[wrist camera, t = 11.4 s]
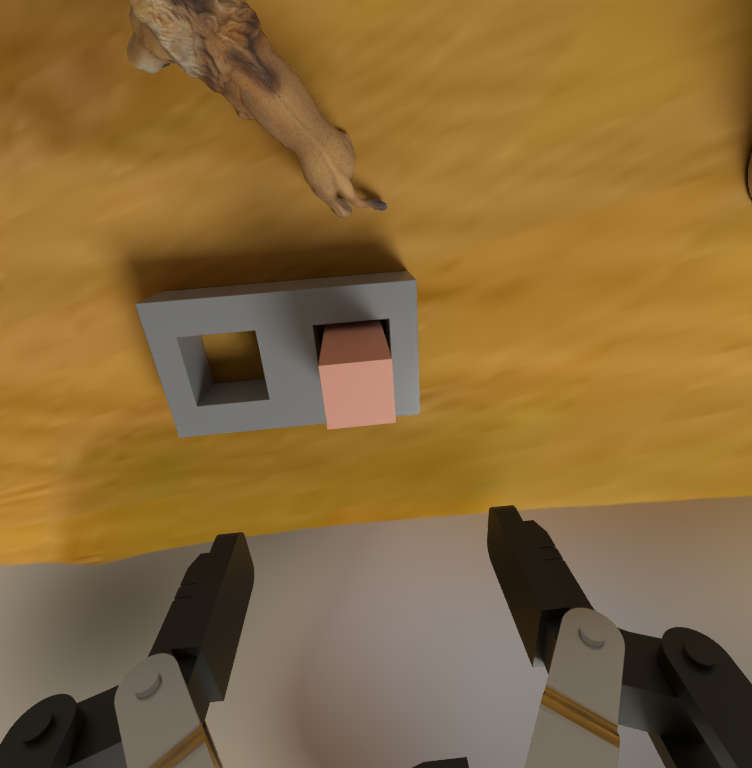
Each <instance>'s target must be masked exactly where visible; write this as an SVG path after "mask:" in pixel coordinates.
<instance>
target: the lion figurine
mask: <svg viewBox="0 0 752 768" xmlns="http://www.w3.org/2000/svg"><path fill="white" fill-rule="evenodd" d="M129 3H130V5H131V7H132V8H131V11H130V21H131V25H132V28H133V30H134V34H133V35H132V37H131V39H130V41H129V44H128V47H127V55H128V58H129V60H130V62H131V64H132V65H133V66H134V67H136V68H137V69H140V70H145V71H146V72H149V73H156V72H158V71H160V69H161V68H163V67H166V66H168V65H170V64H171V63H176V64H177V65H179V66H180V67H182V68H183V70H184V71H185V72H186V73H187V74H188V75H189V76H190V77H193V78H200V79H201V80H202V81H203V82H204V83H205V84H206V85H207V86H208V87H209V88H210V89H212V90H213V91H214V92H217V93H220V94H222V95H224V96H225V98H226V99H227V100H228V101H229V102H230V103H231V104H232V105H233V106H234V107H235V108H236V110H237V112H238V116H239V117H241V118H244V119H254V118H255V119H256V121H257V122H258V123H259V124H260V125H261V126H262V127H263V128H264V129H265V130H266V131H267V132H268V133H270V134H271V135H272V136H273V137H275V138H276V139H277V140H278V141H280V142H281V143H282V144H283V145H284V146H286V147H287V148H289V149H290V150H292V151H293V152H294V153H296V155H297V157H298V159H299V162H300V164H301V167H302V171H303V175H304V177H305V179H306V181H307V183H308V184H309V185H310V187H311V189H312V191H313V192H314V194H315V195H317V196H318V197H319V198H321V199H322V200H323V201H324V202H326V203H327V204H328V205H329V206H331V207H332V208H333V211H334V213H335V214H336V215H337V216H339V217H341V218H347V217H349V216H350V215H351V213H352V209H351V207H350V205H349V204H348V202H347V201H346V200H344V199H342V198H338V197H337V192H340V193H341V194H342V195H343V196H344V197H346V198H347V200H348V201H349V202H350V203H351V204H353V205H354V206H356V207H359V208H361V207H372V208H374V209H375V210H381V211H383V210H386V209H387V204H386V203H384V202H382V201H380V200H378V199H377V198H367V199H363V198H360V197H358V195H357V193H356V192H355V190H354V188H353V185H352V183H351V181H350V178H351V177H352V176H353V174H354V169H355V164H356V154H355V151H354V148H353V146H352V145H351V140H350V137H349V135H348V134H347V133H346V132H343V131H338V130H337V129H336V128H335V127H333V126H332V125H331V124H330V123H329V122H328V121H327V120H326V119H325V118H324V117H323V115H322V114H321V112H320V111H319V109H318V108H317V106H316V104H315V103H314V101H313V99H312V98H311V96H310V95H309V93H308V91H307V90H306V88H305V87H304V85H303V84H302V82H301V80H300V79H299V77H298V76H297V74H296V73H295V72H294V71H293V70H292V68H291V67H290V66H289V65H288V64H287V63H286V62H285V60H284V59H283V58H282V57H281V56H279V55H278V54H277V53H276V52H275V51H274V50H273V49H272V47H271V43H270V41H269V39H268V38H267V36H266V35H265V34H264V33H263V32H262V30H261V25H260V21H259V19H258V17H257V15H256V13H255V11H254V10H252V9H251V8H250V6H249V5H248V4H247V3H246V2H245V1H244V0H129Z"/></svg>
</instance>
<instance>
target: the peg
mask: <svg viewBox="0 0 752 768" xmlns="http://www.w3.org/2000/svg"><path fill="white" fill-rule="evenodd" d="M318 367H319V374H320V381H321V387H322V394H323V401H324V407H325V414H326V421H327V428H328V429H338V428H347V427H357V426H367V425H376V424H386V423H396V415H395V399H394V382H393V366H392V357H391V354H390V351H389V347H388V344H387V341H386V338H385V335H384V331H383V328H382V325H381V322H380V319H378V320H367V321H355V322H344V323H333V324H325V328H324V334H323V341H322V347H321V353H320V359H319V365H318Z"/></svg>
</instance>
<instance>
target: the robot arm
mask: <svg viewBox="0 0 752 768" xmlns="http://www.w3.org/2000/svg"><path fill="white" fill-rule="evenodd" d="M748 186H749V191H750V195H751V197H752V153H751V158H750V163H749V167H748ZM487 546H488V553H489V557H490V561H491V563H492V566H493V568H494V571H495V573H496V576H497V578H498V581H499V584H500V586H501V589H502V591H503V594H504V596H505V599H506V601H507V604H508V606H509V609H510V611H511V614H512V616H513V619H514V622H515V624H516V627H517V629H518V632H519V634H520V637H521V639H522V641H523V644H524V647H525V649H526V652H527V654H528V657H529V659H530V662H531V664H532V667H541V666H545V667H546V670H547V672H548V674H549V675H548V679H547V684H546V687H545V691H544V693H543V696H542V700H541V704H540V708H539V712H538V716H537V720H536V724H535V728H534V732H533V736H532V740H531V744H530V748H529V752H528V757H527V760H526V764H525V768H618V758H619V745H620V743H619V742H620V739H619V738H620V737H619V734H618V733H617V726H618V724H620V725H623V726H627V727H631V728H634V729H639V730H642V731H646V732H648V734H649V736H650V738H651V740H652V742H653V743H654V746H655V748H656V750H657V752H658V754H659V756H660V757H661V759H662V761H663V763H664V765H665V767H666V768H752V684H751V683H750V682H749V680H748V679H747V678H746V676H745V675H744V674H743V673H742V671H741V670H740V669H739V667H738V666H737V665H736V664H735V662H734V661H733V660H732V658H731V657H730V656H729V655H728V654H727V652H726V651H725V650H724V649H723V648H722V647H721V646H720V645H719V644H717V643H716V642H715V641H713V640H712V639H711V638H709V637H707V636H706V635H704V634H701V633H700V632H698V631H695V630H692V629H689V628H684V627H675V628H671V629H668V630H667V631H666V632H665V633H664V635H663V637H662V639H661V638H655V637H651V636H646V635H641V634H636V633H632V632H628V631H625V630H622V629H620V628H618V627H616V625H615V624H614V623H613V622H612V621H611V620H609V619H608V618H607V617H606V616H604V615H602V614H601V613H599V612H597V611H595V610H594V609H593V607H592V606H591V604H590V602H589V601H588V599H587V598H586V596H585V594H584V593H583V591H582V589H581V588H580V586H579V584H578V583H577V581H576V579H575V578H574V576H573V574H572V573H571V571H570V569H569V568H568V566H567V564H566V563H565V561H563V559H562V556H561V555H560V553H559V551H558V550H557V549H556V547H555V544H554V543H553V541H552V539H551V538H550V536H549V535H548V533H547V532H546V531H545V530H544V529H543V528H542V527H541V526H539V525H538V524H537V523H536V522H535V521H533V520H531V521H523V520H522V518H521V517H520V515H519V513H518V511H517V509H516V508H515V506H513V505H510V506H500V507H491V508H490V509H489V519H488V535H487ZM253 584H254V566H253V562H252V559H251V556H250V552H249V549H248V545H247V542H246V538H245V535H244V533H242V532H239V533H229V534H219V535H218V536H217V537H216V539H215V541H214V543H213V546H212V548H211V551H210V553H203V554H200V555H199V556H198V557H197V559H196V560H195V561H194V562H193V563H192V564H191V565H190V566H189V568H188V569H187V571H186V573H185V576H184V578H183V580H182V582H181V587H180V588H179V589H178V591H177V593H176V596H175V600H174V601H173V602H172V605H171V607H170V609H169V611H168V614H167V616H166V618H165V620H164V623H163V625H162V627H161V629H160V631H159V634H158V636H157V638H156V640H155V643H154V645H153V647H152V649H151V652H150V653H149V656H148V657H147V658H145V659H144V660H142V661H140V662H139V663H138V664H136V665H135V666H134V667H133V668H132V669H131V670H130V671H129V672H128V673H127V674H126V675H125V677H124V678H123V679H122V681H121V683H120V684H119V685H118V686H116V687H113V688H111V689H109V690H107V691H105V692H102V693H100V694H98V695H95V696H93V697H91V698H88V699H86V700H84V701H81V702H79V703H76V701H75V700H74V699H73V698H72V697H71V696H70V695H67V694H57V695H53V696H51V697H48V698H46V699H44V700H42V701H40V702H38V703H37V704H35V705H34V706H33V707H31V708H30V709H29V710H27V711H26V712H25V713H24V714H23V715H22V716H21V717H20V718H19V719H18V720H17V721H16V722H15V723H14V725H13V726H12V727H11V728H10V730H9V731H8V733H7V734H6V736H5V738H4V739H3V741H2V742H1V744H0V768H223V765H222V763H221V760H220V758H219V755H218V752H217V750H216V747H215V745H214V742H213V740H212V737H211V734H210V732H209V729H208V726H207V724H206V721H205V718H206V714H207V710H208V707H209V703H210V702H216V701H224V698H225V694H226V690H227V686H228V682H229V679H230V674H231V671H232V667H233V663H234V659H235V655H236V651H237V647H238V643H239V639H240V635H241V631H242V628H243V624H244V620H245V615H246V612H247V608H248V604H249V600H250V596H251V592H252V588H253ZM413 768H469V766H468V761H467V757H463V758H456V759H447V760H438V761H429V762H423V763H421V764H419V765H417V766H415V767H413Z"/></svg>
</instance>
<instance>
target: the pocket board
mask: <svg viewBox="0 0 752 768" xmlns="http://www.w3.org/2000/svg"><path fill="white" fill-rule="evenodd" d="M135 305H136V308H137V311H138V314H139V317H140V320H141V323H142V326H143V329H144V332H145V335H146V338H147V341H148V344H149V347H150V350H151V353H152V356H153V359H154V362H155V365H156V368H157V371H158V374H159V377H160V380H161V383H162V386H163V389H164V392H165V395H166V398H167V401H168V404H169V407H170V410H171V413H172V416H173V419H174V422H175V425H176V429H177V432H178V435H179V438H180V437H190V436H201V435H211V434H221V433H231V432H241V431H252V430H262V429H272V428H282V427H292V426H302V425H313V424H323V423H327V421H326V414H325V407H324V401H323V394H322V387H321V381H320V374H319V367H318V365H319V359H320V353H321V342H320V334H319V327H318V325H322V324H333V323H344V322H355V321H367V320H378V319H385V329H386V341H387V344H388V347H389V351H390V354H391V357H392V366H393V382H394V399H395V415H396V416H404V415H415V414H420V399H419V362H418V325H417V287H416V279H415V278H414V277H413V276H412V275H411V274H410V273H409V272H408V271H398V272H386V273H374V274H362V275H350V276H338V277H327V278H315V279H303V280H291V281H279V282H267V283H256V284H244V285H232V286H220V287H208V288H196V289H185V290H173V291H162V292H160V293H157V294H155V295H153V296H151V297H149V298H147V299H145V300H143V301H140V302H138V303H136V304H135ZM254 330H255V331H256V336H257V341H258V346H259V351H260V355H261V360H262V365H263V370H264V375H265V379H257V380H247V381H236V382H225V383H215V384H214V382H213V379H212V375H211V371H210V367H209V364H208V360H207V356H206V353H205V349H204V345H203V342H202V338H201V335H209V334H220V333H232V332H243V331H254Z"/></svg>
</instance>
